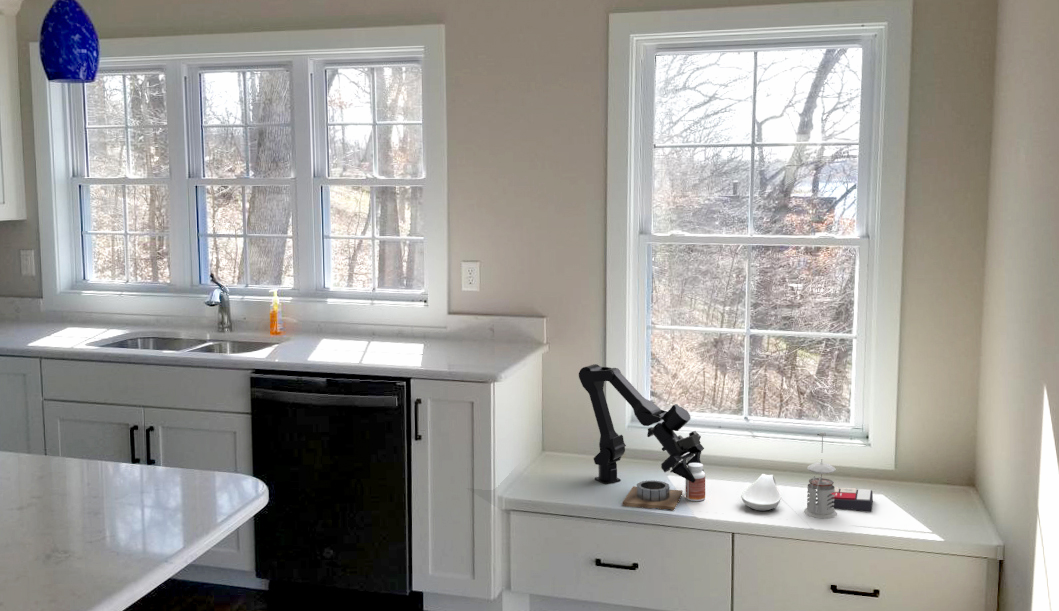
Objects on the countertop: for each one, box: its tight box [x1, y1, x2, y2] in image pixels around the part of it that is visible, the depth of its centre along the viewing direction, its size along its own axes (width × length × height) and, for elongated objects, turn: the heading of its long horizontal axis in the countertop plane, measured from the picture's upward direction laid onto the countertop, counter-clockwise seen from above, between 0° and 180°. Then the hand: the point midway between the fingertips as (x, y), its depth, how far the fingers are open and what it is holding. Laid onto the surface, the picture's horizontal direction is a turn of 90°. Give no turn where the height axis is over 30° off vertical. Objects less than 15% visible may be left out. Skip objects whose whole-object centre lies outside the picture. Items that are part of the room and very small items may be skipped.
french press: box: [803, 431, 838, 519], centre depth 291 cm, size 10×12×25 cm
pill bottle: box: [685, 462, 706, 502], centre depth 307 cm, size 6×6×11 cm
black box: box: [830, 486, 874, 513], centre depth 301 cm, size 11×4×15 cm
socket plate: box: [622, 485, 683, 511], centre depth 307 cm, size 16×16×1 cm
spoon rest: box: [740, 473, 782, 512], centre depth 304 cm, size 24×12×7 cm, turn 159°
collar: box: [636, 479, 671, 502], centre depth 306 cm, size 10×10×4 cm
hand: (699, 479), depth 306 cm, fingers closed on pill bottle, 6 cm apart
